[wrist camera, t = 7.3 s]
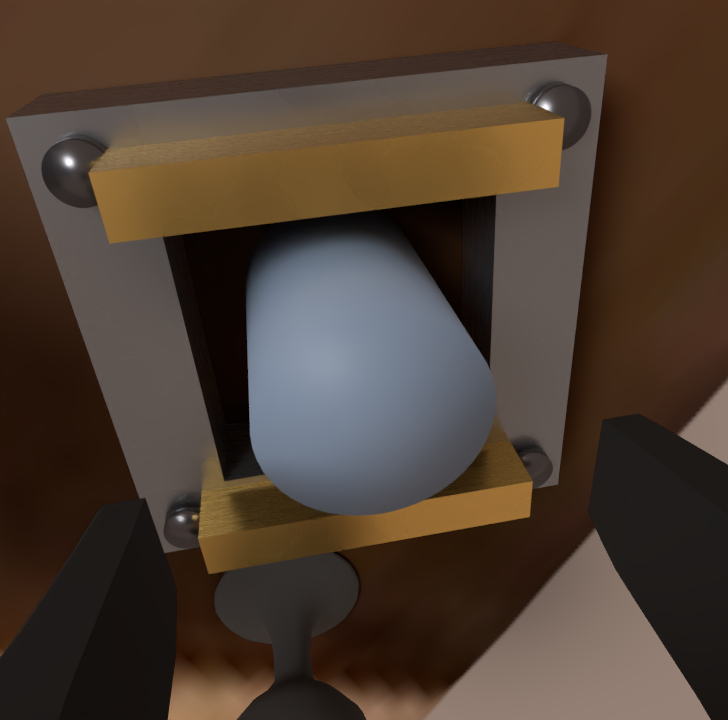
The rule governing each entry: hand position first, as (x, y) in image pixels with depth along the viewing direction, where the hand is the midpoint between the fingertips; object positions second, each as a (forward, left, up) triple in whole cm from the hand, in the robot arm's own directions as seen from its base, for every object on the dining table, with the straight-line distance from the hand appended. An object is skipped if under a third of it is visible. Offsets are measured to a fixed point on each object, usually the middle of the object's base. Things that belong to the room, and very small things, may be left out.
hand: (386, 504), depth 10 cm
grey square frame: (0, 0, -8) cm, 8 cm away
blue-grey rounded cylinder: (0, 0, -8) cm, 8 cm away
